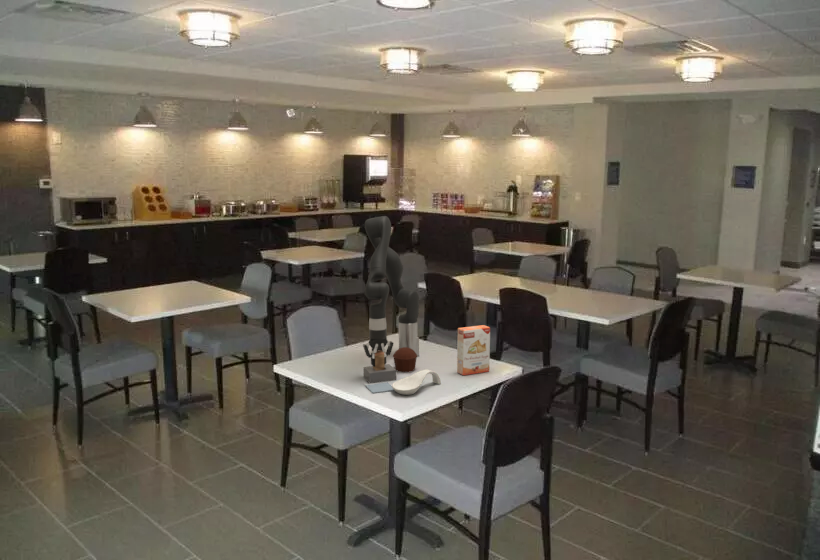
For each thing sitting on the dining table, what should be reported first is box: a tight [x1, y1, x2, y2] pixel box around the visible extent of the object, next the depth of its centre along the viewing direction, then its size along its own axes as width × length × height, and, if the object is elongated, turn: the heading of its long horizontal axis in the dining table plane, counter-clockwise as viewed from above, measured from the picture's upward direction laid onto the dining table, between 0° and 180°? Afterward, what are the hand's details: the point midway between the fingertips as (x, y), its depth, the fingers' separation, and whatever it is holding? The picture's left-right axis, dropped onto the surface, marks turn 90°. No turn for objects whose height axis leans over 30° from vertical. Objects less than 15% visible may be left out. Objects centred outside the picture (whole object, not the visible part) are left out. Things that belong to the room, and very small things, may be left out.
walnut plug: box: [373, 350, 385, 371], centre depth 288 cm, size 4×4×12 cm
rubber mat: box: [365, 381, 396, 394], centre depth 275 cm, size 10×10×1 cm
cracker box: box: [456, 324, 491, 376], centre depth 294 cm, size 14×6×21 cm, turn 115°
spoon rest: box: [391, 369, 442, 396], centre depth 274 cm, size 24×12×7 cm, turn 133°
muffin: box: [392, 347, 418, 373], centre depth 301 cm, size 12×11×10 cm
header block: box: [362, 363, 397, 384], centre depth 288 cm, size 12×10×4 cm
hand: (378, 365), depth 288 cm, fingers closed on walnut plug, 4 cm apart
